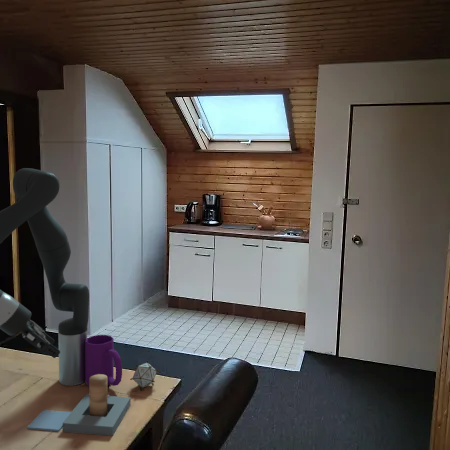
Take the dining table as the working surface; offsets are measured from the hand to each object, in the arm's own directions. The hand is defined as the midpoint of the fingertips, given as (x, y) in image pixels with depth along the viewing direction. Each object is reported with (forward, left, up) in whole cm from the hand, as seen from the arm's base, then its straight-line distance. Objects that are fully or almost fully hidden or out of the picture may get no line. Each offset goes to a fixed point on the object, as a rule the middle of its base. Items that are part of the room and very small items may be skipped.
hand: (55, 349), depth 119 cm
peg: (-7, +9, -23) cm, 25 cm away
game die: (-27, +17, -23) cm, 40 cm away
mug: (-26, +4, -23) cm, 35 cm away
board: (-7, +9, -23) cm, 25 cm away
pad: (-3, -3, -23) cm, 23 cm away
